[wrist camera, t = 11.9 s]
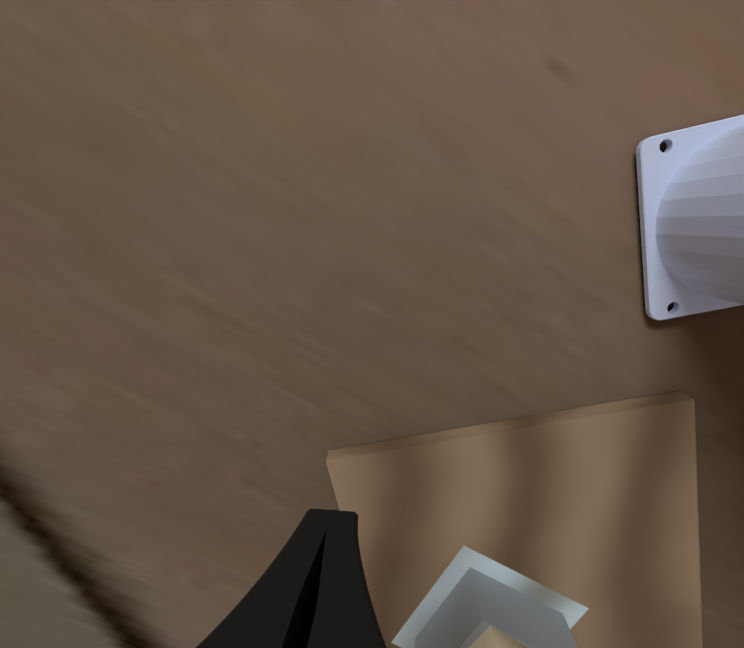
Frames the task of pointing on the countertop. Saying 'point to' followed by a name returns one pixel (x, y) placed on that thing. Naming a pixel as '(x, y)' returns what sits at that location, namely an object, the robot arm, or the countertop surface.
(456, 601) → the grey base block
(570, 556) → the board
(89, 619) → the countertop surface
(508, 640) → the maple cube
